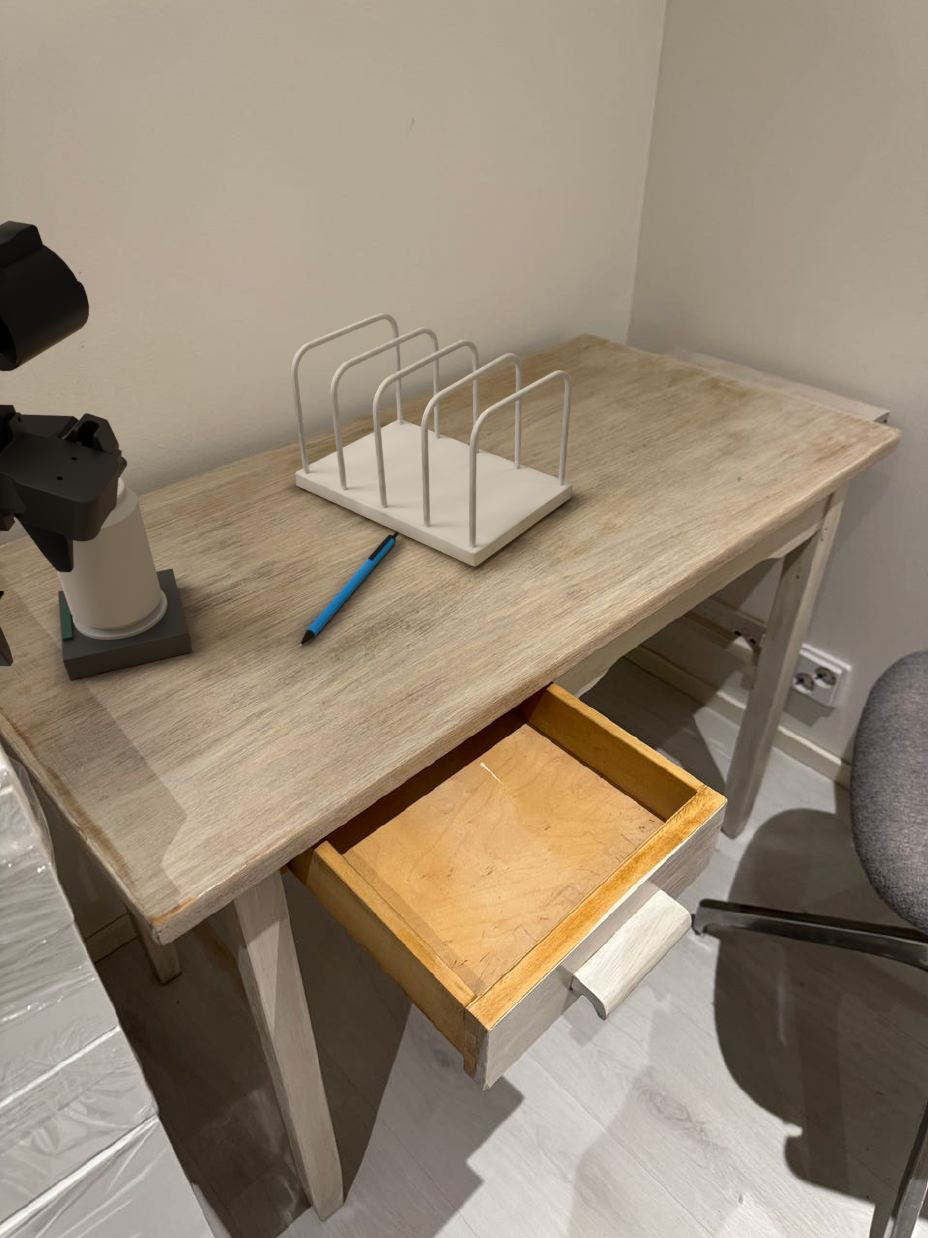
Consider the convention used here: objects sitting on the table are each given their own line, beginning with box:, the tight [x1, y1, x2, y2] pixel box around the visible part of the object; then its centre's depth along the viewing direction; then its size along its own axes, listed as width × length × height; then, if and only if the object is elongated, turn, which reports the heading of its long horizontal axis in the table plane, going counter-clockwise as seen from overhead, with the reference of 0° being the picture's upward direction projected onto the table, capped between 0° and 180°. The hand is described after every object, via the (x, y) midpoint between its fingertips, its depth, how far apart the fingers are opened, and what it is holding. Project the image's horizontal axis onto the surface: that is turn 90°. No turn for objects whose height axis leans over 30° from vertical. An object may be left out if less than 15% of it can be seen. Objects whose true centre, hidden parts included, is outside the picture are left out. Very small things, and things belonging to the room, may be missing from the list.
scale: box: [57, 568, 193, 681], centre depth 78 cm, size 10×10×3 cm
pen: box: [299, 531, 400, 647], centre depth 84 cm, size 1×19×1 cm, turn 157°
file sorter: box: [290, 312, 573, 567], centre depth 93 cm, size 25×17×16 cm
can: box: [55, 476, 162, 630], centre depth 73 cm, size 8×8×12 cm
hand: (37, 615), depth 60 cm, fingers open, 9 cm apart
